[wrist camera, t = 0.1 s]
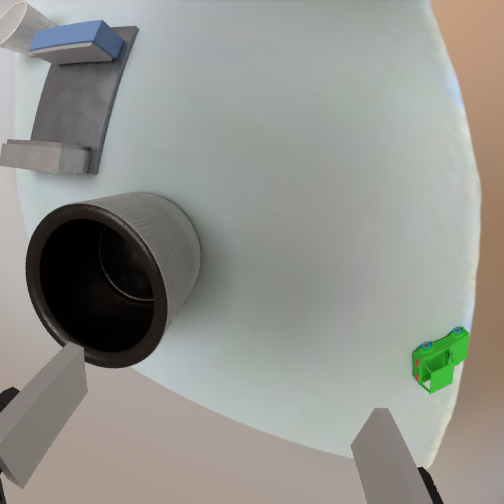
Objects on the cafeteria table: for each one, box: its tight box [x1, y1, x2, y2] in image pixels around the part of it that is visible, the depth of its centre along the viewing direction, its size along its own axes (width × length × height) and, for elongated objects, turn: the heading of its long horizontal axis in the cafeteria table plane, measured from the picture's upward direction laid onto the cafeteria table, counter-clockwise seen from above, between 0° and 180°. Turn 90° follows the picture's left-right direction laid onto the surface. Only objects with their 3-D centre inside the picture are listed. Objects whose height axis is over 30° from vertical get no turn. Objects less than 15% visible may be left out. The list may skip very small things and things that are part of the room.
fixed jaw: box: [0, 139, 91, 174], centre depth 30 cm, size 4×12×7 cm, turn 77°
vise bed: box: [30, 26, 138, 174], centre depth 32 cm, size 22×14×1 cm, turn 167°
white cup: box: [0, 1, 56, 56], centre depth 24 cm, size 8×8×10 cm
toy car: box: [413, 327, 469, 394], centre depth 38 cm, size 11×7×7 cm, turn 108°
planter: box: [26, 192, 201, 368], centre depth 30 cm, size 16×16×16 cm
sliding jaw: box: [29, 20, 124, 65], centre depth 26 cm, size 4×12×7 cm, turn 77°
